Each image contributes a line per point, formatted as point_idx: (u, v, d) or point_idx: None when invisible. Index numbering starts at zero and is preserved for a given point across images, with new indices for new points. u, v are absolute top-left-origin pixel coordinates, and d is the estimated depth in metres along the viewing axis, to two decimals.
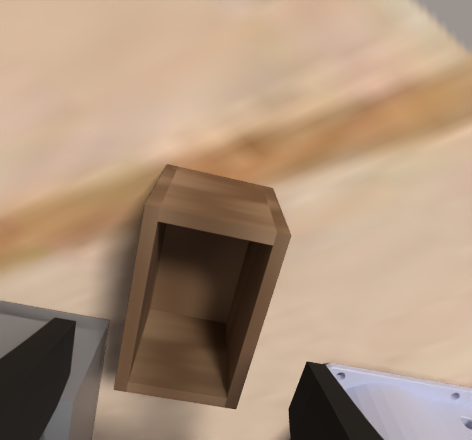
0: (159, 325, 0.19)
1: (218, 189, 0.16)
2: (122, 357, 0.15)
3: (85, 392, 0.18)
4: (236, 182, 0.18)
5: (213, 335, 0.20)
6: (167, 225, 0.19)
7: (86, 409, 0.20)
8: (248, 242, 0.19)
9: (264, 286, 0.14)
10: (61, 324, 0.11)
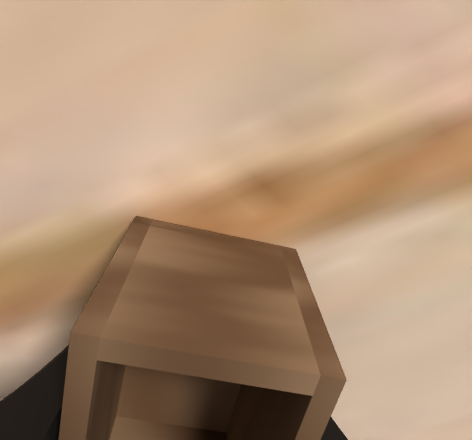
0: None
1: (213, 265, 0.10)
2: None
3: None
4: (241, 243, 0.12)
5: None
6: None
7: None
8: None
9: None
10: None
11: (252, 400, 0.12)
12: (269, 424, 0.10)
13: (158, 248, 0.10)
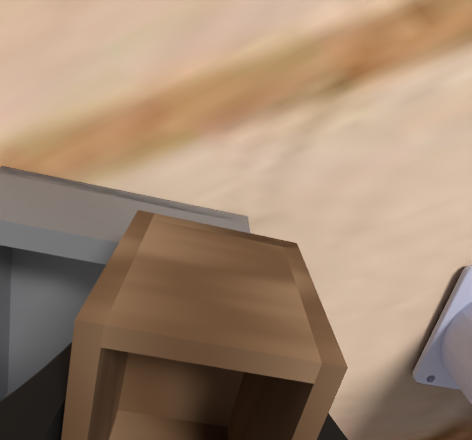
0: None
1: (215, 257, 0.10)
2: None
3: None
4: (242, 236, 0.12)
5: None
6: None
7: None
8: None
9: None
10: None
11: (253, 393, 0.12)
12: (270, 415, 0.10)
13: (160, 240, 0.10)
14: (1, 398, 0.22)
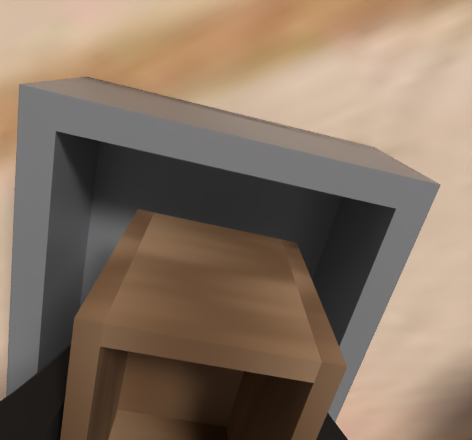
0: None
1: (215, 256, 0.10)
2: None
3: None
4: (242, 236, 0.12)
5: None
6: None
7: None
8: None
9: None
10: None
11: (253, 392, 0.12)
12: (270, 414, 0.10)
13: (160, 240, 0.10)
14: None
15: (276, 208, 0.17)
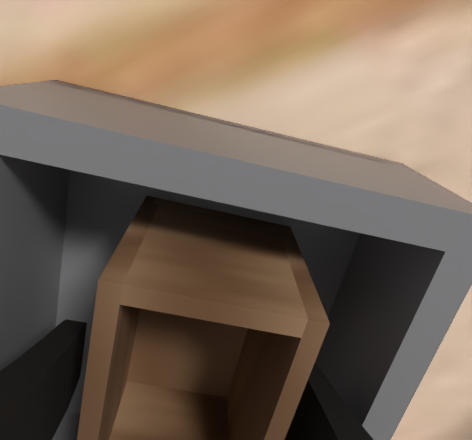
0: (137, 408, 0.14)
1: (216, 236, 0.12)
2: None
3: None
4: (241, 220, 0.13)
5: (209, 419, 0.15)
6: None
7: None
8: None
9: (286, 394, 0.09)
10: (72, 326, 0.11)
11: (250, 361, 0.13)
12: (265, 374, 0.11)
13: (167, 221, 0.12)
14: None
15: None
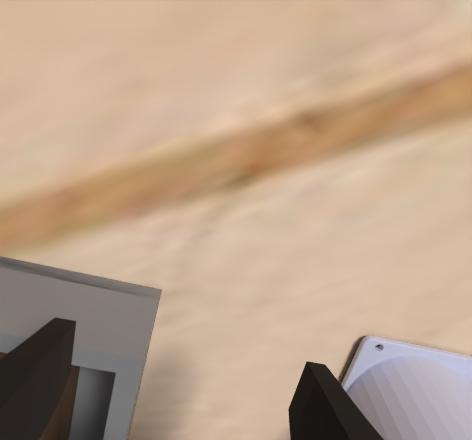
0: None
1: None
2: None
3: (145, 354, 0.19)
4: None
5: None
6: None
7: (141, 373, 0.21)
8: None
9: None
10: (61, 323, 0.11)
11: None
12: None
13: None
14: None
15: None
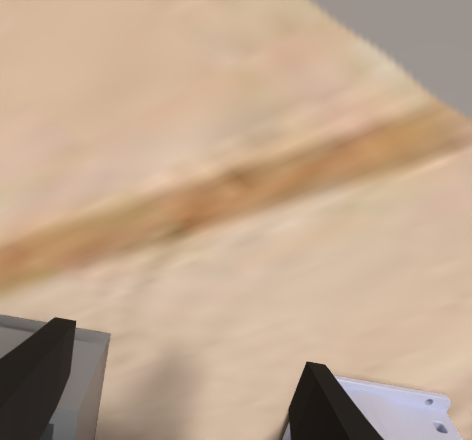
0: None
1: None
2: None
3: (89, 401, 0.20)
4: None
5: None
6: None
7: (89, 415, 0.22)
8: None
9: None
10: (61, 323, 0.11)
11: None
12: None
13: None
14: None
15: None
